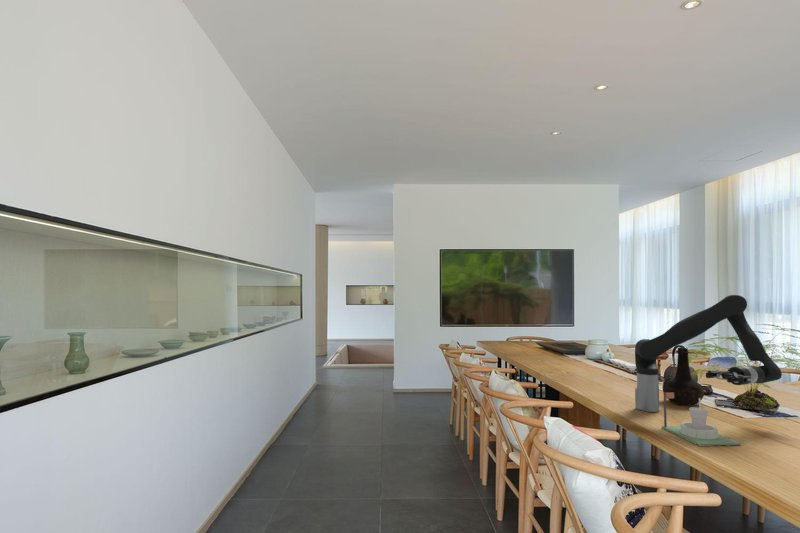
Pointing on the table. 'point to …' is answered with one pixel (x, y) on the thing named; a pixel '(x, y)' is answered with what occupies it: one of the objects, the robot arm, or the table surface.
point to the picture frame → (725, 403)
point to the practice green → (696, 431)
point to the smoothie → (698, 417)
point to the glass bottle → (683, 383)
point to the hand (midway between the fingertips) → (717, 377)
